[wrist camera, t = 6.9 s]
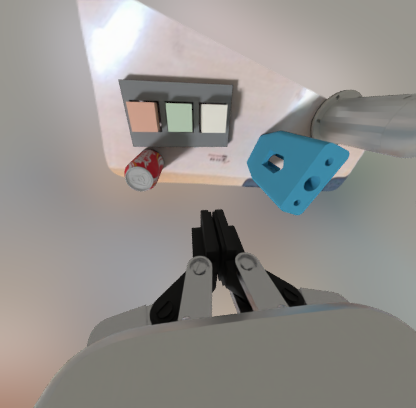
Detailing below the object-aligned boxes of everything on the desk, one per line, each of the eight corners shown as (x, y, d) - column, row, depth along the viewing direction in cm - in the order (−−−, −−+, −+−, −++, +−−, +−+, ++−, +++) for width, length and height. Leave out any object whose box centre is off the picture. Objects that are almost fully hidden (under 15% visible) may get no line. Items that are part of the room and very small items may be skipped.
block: (265, 126, 38) (328, 140, 21) (281, 134, 39) (352, 153, 22) (242, 170, 43) (278, 209, 26) (257, 175, 45) (299, 216, 28)
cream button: (224, 105, 32) (227, 105, 30) (222, 131, 35) (225, 132, 32) (200, 104, 32) (202, 104, 29) (200, 130, 34) (202, 132, 32)
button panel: (230, 86, 33) (232, 85, 31) (225, 145, 39) (227, 146, 37) (122, 81, 30) (118, 79, 28) (135, 144, 36) (133, 146, 35)
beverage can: (164, 150, 38) (156, 165, 28) (164, 174, 41) (156, 195, 31) (137, 146, 37) (119, 161, 27) (139, 171, 40) (123, 192, 30)
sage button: (191, 104, 32) (191, 103, 30) (191, 130, 35) (192, 131, 32) (167, 103, 32) (165, 103, 29) (169, 129, 34) (168, 131, 32)
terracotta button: (156, 103, 31) (153, 102, 28) (160, 130, 33) (157, 132, 31) (130, 102, 30) (125, 101, 28) (136, 130, 33) (132, 131, 30)
